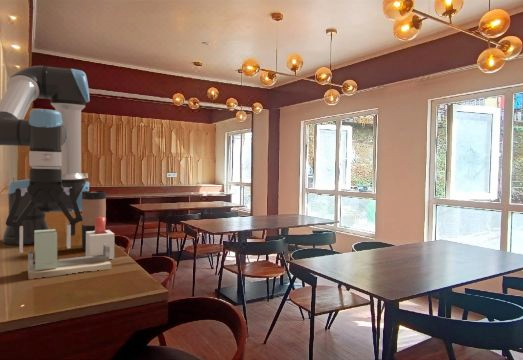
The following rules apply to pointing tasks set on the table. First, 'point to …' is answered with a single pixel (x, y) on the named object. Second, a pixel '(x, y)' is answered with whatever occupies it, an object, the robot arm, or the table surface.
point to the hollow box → (99, 243)
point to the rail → (71, 265)
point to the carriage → (45, 249)
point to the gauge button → (99, 225)
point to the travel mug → (92, 211)
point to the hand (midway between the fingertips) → (45, 249)
